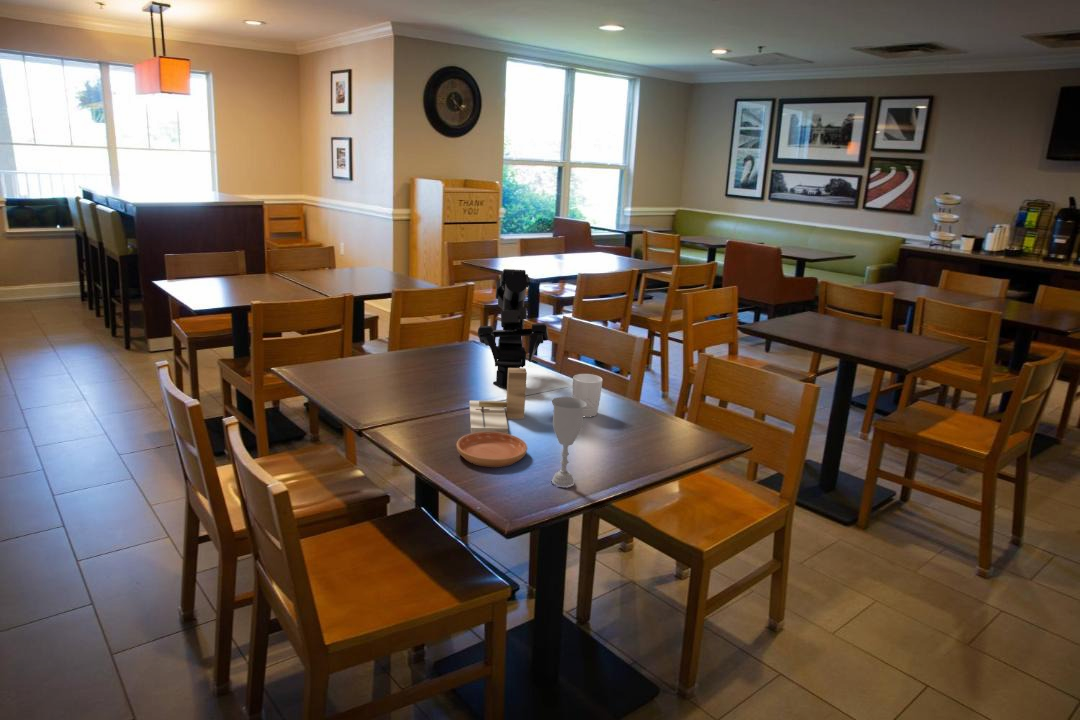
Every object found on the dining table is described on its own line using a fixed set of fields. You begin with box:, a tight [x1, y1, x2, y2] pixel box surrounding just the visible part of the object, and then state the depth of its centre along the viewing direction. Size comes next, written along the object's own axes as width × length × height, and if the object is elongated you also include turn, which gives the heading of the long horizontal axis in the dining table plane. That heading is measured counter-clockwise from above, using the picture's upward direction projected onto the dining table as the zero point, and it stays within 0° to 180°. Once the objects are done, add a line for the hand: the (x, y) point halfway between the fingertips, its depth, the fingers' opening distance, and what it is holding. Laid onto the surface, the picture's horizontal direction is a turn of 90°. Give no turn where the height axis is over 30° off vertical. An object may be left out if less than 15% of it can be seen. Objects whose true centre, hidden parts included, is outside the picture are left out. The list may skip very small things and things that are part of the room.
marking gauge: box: [478, 367, 528, 420], centre depth 186 cm, size 4×12×12 cm, turn 97°
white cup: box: [572, 373, 603, 418], centre depth 193 cm, size 8×8×10 cm
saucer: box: [456, 432, 528, 468], centre depth 163 cm, size 16×16×3 cm
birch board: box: [468, 400, 509, 434], centre depth 185 cm, size 20×9×2 cm, turn 7°
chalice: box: [551, 396, 587, 486], centre depth 149 cm, size 7×7×18 cm
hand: (512, 362), depth 192 cm, fingers open, 9 cm apart
